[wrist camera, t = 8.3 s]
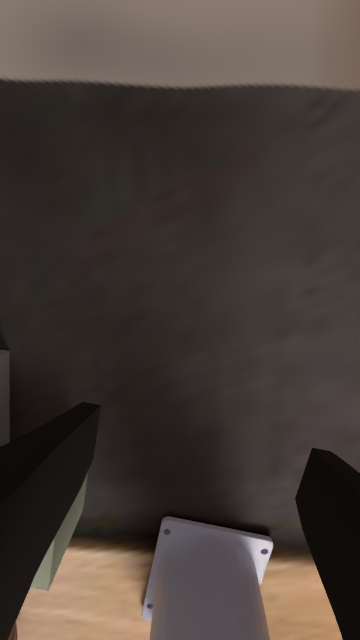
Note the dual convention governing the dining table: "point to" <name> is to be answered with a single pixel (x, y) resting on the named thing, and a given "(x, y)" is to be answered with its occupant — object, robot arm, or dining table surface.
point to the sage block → (59, 543)
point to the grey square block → (4, 397)
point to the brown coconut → (13, 633)
